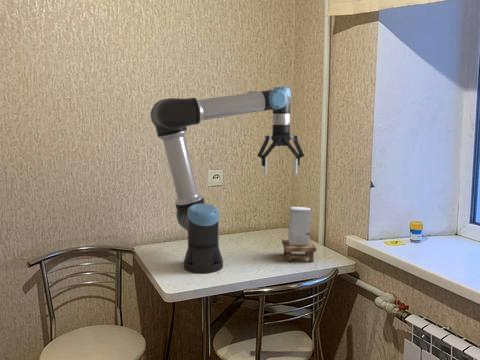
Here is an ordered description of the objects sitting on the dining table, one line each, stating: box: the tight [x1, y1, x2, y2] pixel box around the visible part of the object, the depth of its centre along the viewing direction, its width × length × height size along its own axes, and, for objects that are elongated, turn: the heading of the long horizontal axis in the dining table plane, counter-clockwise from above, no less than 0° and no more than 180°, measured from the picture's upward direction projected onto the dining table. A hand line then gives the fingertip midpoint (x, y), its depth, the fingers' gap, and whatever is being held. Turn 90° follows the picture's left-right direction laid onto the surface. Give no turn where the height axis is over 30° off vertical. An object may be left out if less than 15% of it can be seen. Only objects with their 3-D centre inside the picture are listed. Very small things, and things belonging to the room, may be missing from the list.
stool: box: [281, 239, 317, 263], centre depth 177 cm, size 12×12×6 cm
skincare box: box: [287, 206, 312, 246], centre depth 176 cm, size 8×6×15 cm
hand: (280, 173), depth 189 cm, fingers open, 13 cm apart
